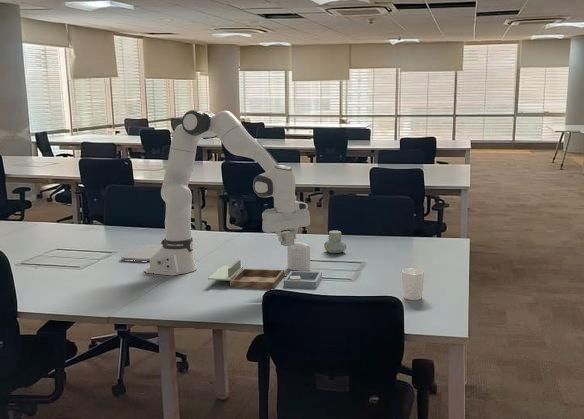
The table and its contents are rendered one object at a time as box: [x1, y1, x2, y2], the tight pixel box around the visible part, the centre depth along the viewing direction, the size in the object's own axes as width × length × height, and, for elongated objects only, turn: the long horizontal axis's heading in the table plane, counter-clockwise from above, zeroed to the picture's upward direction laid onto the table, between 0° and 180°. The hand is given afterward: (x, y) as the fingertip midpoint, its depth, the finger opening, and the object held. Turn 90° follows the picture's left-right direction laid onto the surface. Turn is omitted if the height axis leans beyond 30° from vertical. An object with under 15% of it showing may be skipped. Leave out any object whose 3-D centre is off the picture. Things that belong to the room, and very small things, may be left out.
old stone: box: [290, 276, 301, 281], centre depth 254 cm, size 4×4×3 cm
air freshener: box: [323, 230, 347, 254], centre depth 305 cm, size 11×8×10 cm
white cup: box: [401, 268, 425, 301], centre depth 235 cm, size 8×8×10 cm
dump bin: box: [282, 270, 323, 289], centre depth 257 cm, size 13×14×3 cm
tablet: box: [120, 244, 162, 261], centre depth 309 cm, size 16×26×2 cm, turn 164°
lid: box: [207, 259, 244, 281], centre depth 262 cm, size 9×19×4 cm, turn 168°
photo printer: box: [287, 241, 311, 272], centre depth 275 cm, size 10×4×12 cm, turn 60°
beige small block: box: [280, 230, 296, 247], centre depth 255 cm, size 4×4×5 cm
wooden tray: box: [229, 268, 286, 290], centre depth 259 cm, size 18×18×3 cm
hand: (287, 240), depth 255 cm, fingers closed on beige small block, 4 cm apart
